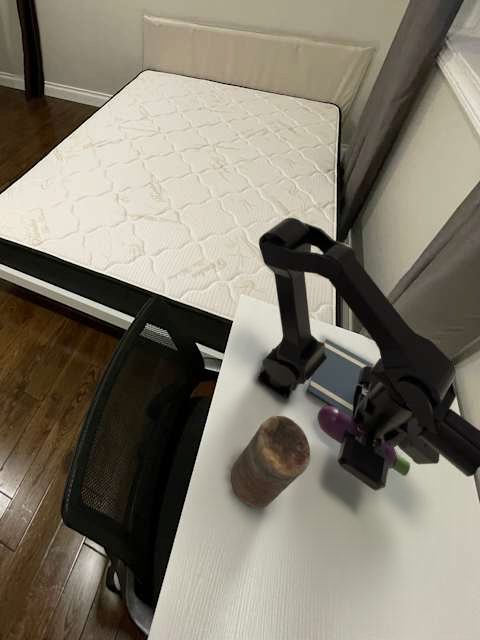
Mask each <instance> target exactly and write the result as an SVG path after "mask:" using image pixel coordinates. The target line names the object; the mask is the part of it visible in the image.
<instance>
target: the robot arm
mask: <svg viewBox="0 0 480 640" xmlns="http://www.w3.org/2000/svg"><path fill="white" fill-rule="evenodd" d="M258 247H259V250H260V254H261V257H262V260H263V263H264V265H265V266H266V267H268V269H269V270H270V271H271V272H272V273H273V276H274V282H275V288H276V290H275V291H276V295H277V303H278V311H279V318H280V325H281V332H282V338H281V340H280V342H279V343H278V344H277V345H276V346H275V347H274V348H273V347H272V350H271V351H270V352H269V353H268V354H267V355H266V356H265V357H264V359H262V368H261V370H260V372H259V374H258V377H257V381H258V382H259V383H260V384H262V385H264V386H265V387H267V388H268V389H270V390H271V391H273V392H274V393H276V394H278V395H279V396H280V397H282V398H284V399H285V400H287V399H289V397H290V394H291V392H295V390H296V389H297V387H298V386H299V385H305V383H306V382H307V381H309V380H310V379H311V378H312V376H313V374H314V373H315V371H316V370H317V369H318V368H319V367H320V366H321V365H322V363H323V362H324V361H325V360H326V359H327V357H326V355H325V352H324V348H325V344H324V343H325V342H322V341H319V340H318V339H317V338H316V337H315V336H314V335H313V334H312V330H311V321H310V311H309V303H308V294H307V292H308V291H307V285H306V284H307V282H306V273H308V274H316V275H318V276H320V277H322V278H324V279H326V280H328V281H329V282H330V283H331V285H332V286H333V287H334V289H335V290H336V292H337V293H338V294H339V296H340V297H341V298H342V300H343V301H344V303H345V304H346V305H347V307H348V309H350V311H351V312H352V313H353V314H354V316H355V317H356V319H357V320H358V322H359V323H360V324H361V326H362V327H363V328H364V329H365V331H366V333H368V335H369V337H371V339H372V340H373V342H374V343H375V345H376V346H377V348H378V350H379V355H380V358H378V360H377V361H376V362H375V363H374V364H373V367H372V366H364V367H363V368H362V370H361V371H360V375H359V379H358V384H360V385H363V387H362V386H360V385H357V386H356V389H355V393H354V397H353V418H354V419H353V421H355V422H357V423H358V428H357V430H358V431H359V432H361V433H363V434H364V433H365V434H364V437H363V436H360V437H359V438H358V437H356V436H355V435H353V434H351V433H350V432H348V431H347V430H345V432H344V435H343V439H342V444H341V445H340V448H339V452H338V456H337V463H338V465H339V467H340V468H341V469H342V470H343V471H346V472H347V473H348V474H349V475H351V476H352V477H355V478H356V479H358V480H359V481H360V482H362V483H363V484H364V485H366V486H368V487H369V488H370V489H371V490H373V491H375V492H376V491H380V490H382V489H384V488H385V487H386V484H387V479H388V472H389V469H388V467H389V464H388V463H387V461H386V459H385V458H384V455H385V452H384V450H383V449H382V447H381V442H382V439H384V440H385V442H384V443H385V444H387V445H388V446H390V447H391V448H396V447H398V448H399V449H400V450H401V451H402V452H403V453H404V454H406V455H407V456H408V457H409V458H410V459H412V462H414V463H415V464H417V465H434V464H435V465H436V464H439V462H440V456H441V457H443V458H444V459H445V460H446V461H448V462H449V463H450V464H451V465H452V466H453V467H455V468H456V469H457V470H458V471H459V472H461V473H462V474H463V475H464V476H466V477H472V476H474V475H475V474H476V473H477V471H478V469H479V468H480V429H478V428H477V427H475V426H474V425H473V424H472V423H470V421H468V420H466V419H465V418H464V417H463V416H461V415H460V414H459V413H457V412H456V411H455V410H453V408H451V407H452V406H453V403H454V401H455V400H456V397H458V395H457V390H456V385H455V382H454V380H455V376H456V373H457V370H456V367H455V366H454V365H455V364H453V362H452V361H451V360H450V359H449V357H447V355H446V354H444V352H443V351H442V350H441V349H440V348H439V347H438V346H436V344H435V343H434V342H433V341H432V340H430V339H429V338H427V337H426V336H423V335H421V334H420V333H417V332H415V331H414V330H413V329H412V328H411V327H410V326H409V325H408V324H407V322H406V321H405V320H404V319H403V317H402V316H401V315H400V313H399V312H398V311H397V310H396V308H395V307H394V306H393V304H392V303H391V301H390V300H389V299H388V298H387V296H386V295H385V294H384V292H383V291H382V290H381V289H380V288H379V286H378V285H377V284H376V282H375V281H374V280H373V278H372V277H371V276H370V275H369V273H368V272H367V271H366V270H365V268H364V267H363V266H362V264H361V263H360V262H359V260H358V259H357V254H356V252H355V250H354V249H353V248H352V247H351V246H350V245H348V244H345V243H343V242H341V241H337V240H335V239H334V238H332V237H331V236H330V235H329V234H328V233H327V232H326V231H324V230H323V229H322V228H320V227H318V226H314V225H312V224H309V223H306V222H303V221H301V220H300V219H298V218H295V217H286V218H284V219H282V220H281V221H279V222H278V223H277V224H276V225H274V226H273V227H272V228H270V229H269V230H267V231H266V232H264V233H263V234H262V235H261V236H260V237H259V238H258ZM312 247H316V248H318V250H319V251H320V252H322V253H319V252H312ZM364 431H365V432H364ZM374 437H375V438H374ZM373 442H375V443H373ZM373 445H375V446H374V447H373Z"/></svg>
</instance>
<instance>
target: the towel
mask: <svg viewBox="0 0 480 640" xmlns="http://www.w3.org/2000/svg"><path fill="white" fill-rule="evenodd" d="M323 343H324V344H325V348H324V352H325V355H326V357H327V359H326V360H325V361H324V362H323V363H322V365H321V366H320V367H319V368H318V369H317V370H316V371H315V373H314V374H313V375H312V376H311V378H310V382H309V384H308V387H307V389H306V390H307V392H308V393H309V394H311V395H312V396H314V397H316V398H318V399H319V400H321V401H322V402H324V403H326V404H327V405H328V406H333V407H336V408H338V409H340V410H341V411H343V412H344V413H346V414H348V415H349V416H351V417H352V418H353V397H354V393H355V389H356V386H357V385H360V384H358V379H359V375H360V371H361V370H362V368H363V367H364V366H372V367H374V363H372V362H370V361H368V360H366V359H364V358H363V357H360V356H359V355H357V354H355V353H353V352H352V351H350V350H348V349H346V348H344V347H343V346H341V345H339V344H337V343H335V342H334V341H332V340H330V339H328V338H325V340H324V342H323ZM360 386H362V387H363V385H360Z"/></svg>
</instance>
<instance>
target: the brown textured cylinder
mask: <svg viewBox="0 0 480 640" xmlns="http://www.w3.org/2000/svg"><path fill="white" fill-rule="evenodd" d="M310 462H311V446H310V443H309V440H308V437H307V435H306V432H305V431H304V430H303V429H302V427H301V426H300V425H299V424H298V423H296V422H295V421H294V420H293V419H291V418H289V417H288V416H287V417H286V416H285V415H273V416H269V417H268V418H266V420H264V421H263V422H262V423H261V425H260V426H259V427H258V429H257V431H256V432H255V434H254V435H253V436H252V437H251V438H250V441H249V442H248V443H247V445H246V446H245V448H244V449H243V450H242V452H241V454H240V455H239V456H238V458H237V459H236V461H235V462H234V463H233V465H232V468H231V473H230V475H231V482H232V486H233V489H234V492H235V493H236V495H237V496H238V498H239V499H240V500H241V501H242V502H243V503H245V504H247V505H248V506H251V507H253V508H260V509H263V508H266V507H268V505H270V504H271V503H273V501H275V500H276V499H277V497H279V496H280V495H281V494H282V493H283V492H284V491H285V490H286V489H287V488H288V487H289V486H290V485H291V484H293V482H295V481H296V480H297V478H299V477H300V476H301V475H302V474H303V473H304V472H305V471H306V470H307V468H308V467H309V466H310Z"/></svg>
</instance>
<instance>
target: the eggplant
mask: <svg viewBox="0 0 480 640" xmlns="http://www.w3.org/2000/svg"><path fill="white" fill-rule="evenodd" d="M353 419H354V418H352V417H351V416H349V415H348V414H346V413H344V412H343V411H341V410H340V409H338V408H336V407H333V406H330V405H325V406H323V407H321V408H320V409H319V411H318V413H317V423H318V426H319V428H320V429H321V431H322V432H323V433H324V434H326V435H327V436H329V437H330V438H332V439H333V440H335V441H336V442H337V443H339V444H341V445H342V439H343V435H344V432H345V430H347V431H348V432H350V433H351V434H353V435H355V436H356V437H358V438H359V437H360V436H363V437H364V434H365V433H364V434H363V433H361V432H359V431H358V430H357V428H358V423H357V422H355V421H353ZM364 432H365V431H364ZM374 438H375V437H374ZM384 442H385V440H384V439H382V442H381V447H382V449H383V450H384V452H385V455H384V458H385V459H386V461H387V463H388V464H389V467H388V470H390V469H392V470H394V471H396V472H397V473H399V474H400V475H402V476H403V477H406V476H407V475H408V474H409V472H410V468H411V463H410V462H409V461H408V460H407V459H405V458H403V457H402V456H400V455H398V453H397V451H396V447H394V448H391V447H390V446H388V445H387V444H385V443H384ZM373 443H375V442H373ZM374 446H375V445H373V447H374Z"/></svg>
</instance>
